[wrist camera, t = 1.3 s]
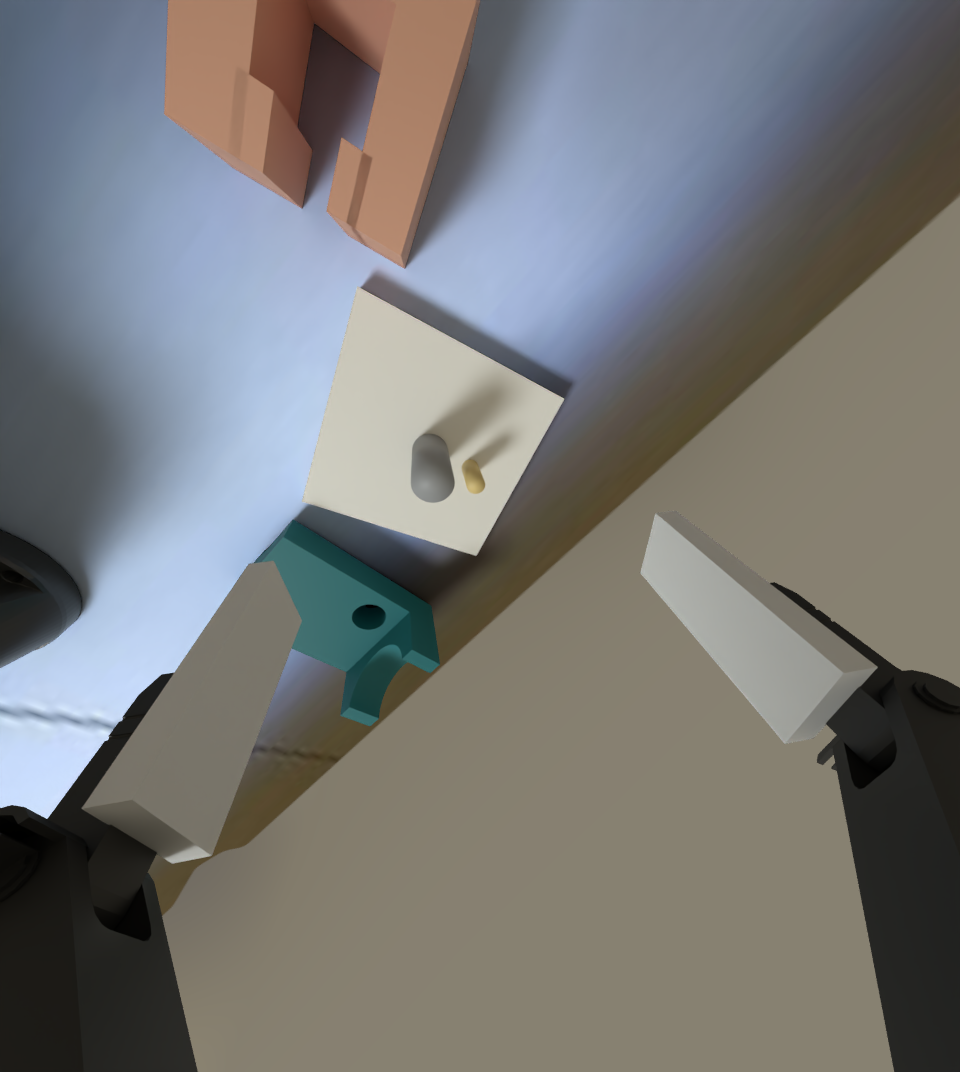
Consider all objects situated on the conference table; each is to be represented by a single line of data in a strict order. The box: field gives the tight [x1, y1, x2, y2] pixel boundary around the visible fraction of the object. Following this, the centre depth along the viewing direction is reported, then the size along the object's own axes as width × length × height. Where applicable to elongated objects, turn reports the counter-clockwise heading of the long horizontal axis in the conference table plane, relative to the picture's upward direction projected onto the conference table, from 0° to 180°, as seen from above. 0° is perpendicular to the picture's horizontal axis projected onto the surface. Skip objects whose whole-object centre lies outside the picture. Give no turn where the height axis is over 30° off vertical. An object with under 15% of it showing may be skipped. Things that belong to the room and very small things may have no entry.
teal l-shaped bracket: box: [254, 520, 440, 726], centre depth 36 cm, size 18×11×10 cm, turn 43°
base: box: [302, 287, 564, 556], centre depth 29 cm, size 18×18×8 cm
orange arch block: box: [164, 0, 480, 269], centre depth 18 cm, size 11×11×7 cm
